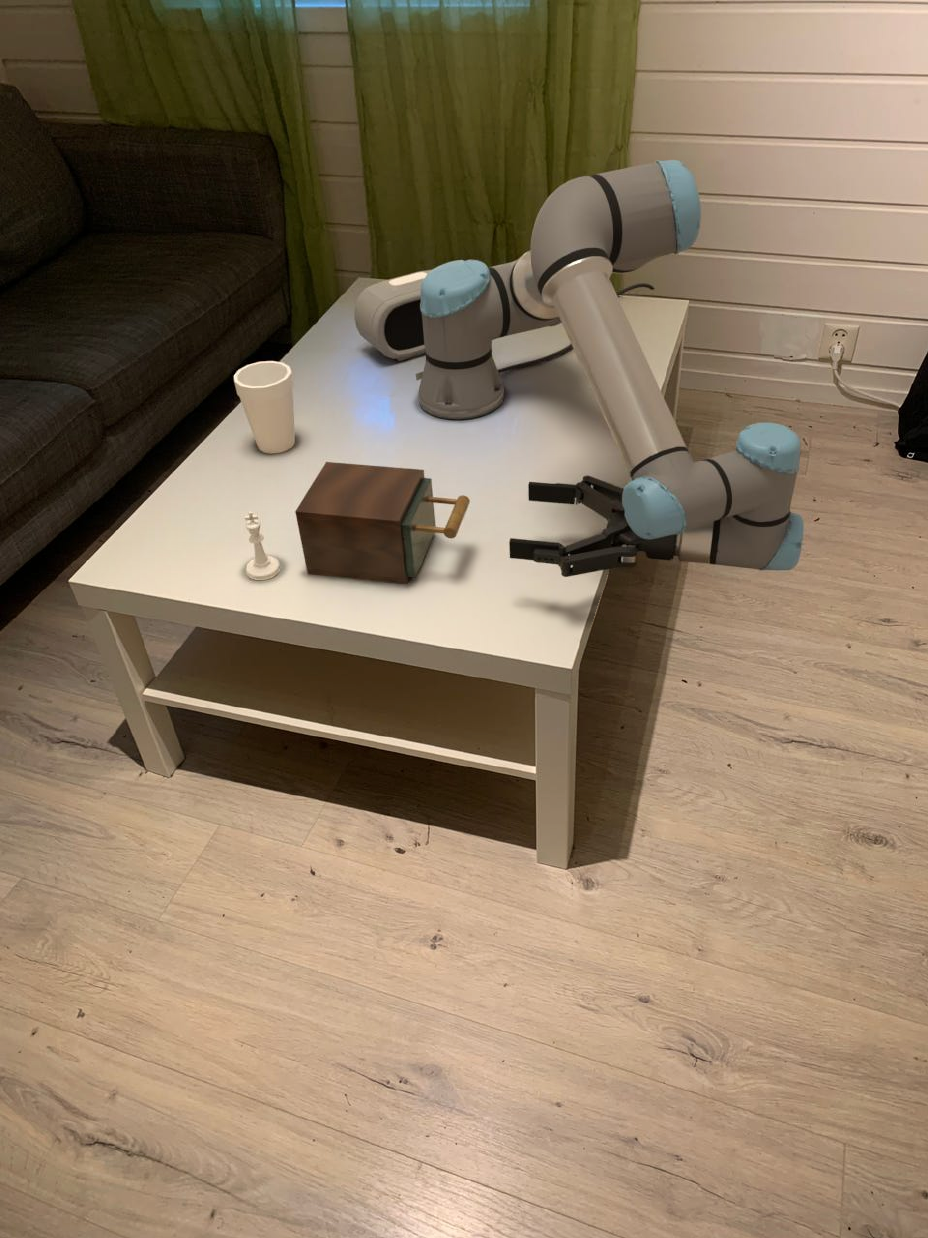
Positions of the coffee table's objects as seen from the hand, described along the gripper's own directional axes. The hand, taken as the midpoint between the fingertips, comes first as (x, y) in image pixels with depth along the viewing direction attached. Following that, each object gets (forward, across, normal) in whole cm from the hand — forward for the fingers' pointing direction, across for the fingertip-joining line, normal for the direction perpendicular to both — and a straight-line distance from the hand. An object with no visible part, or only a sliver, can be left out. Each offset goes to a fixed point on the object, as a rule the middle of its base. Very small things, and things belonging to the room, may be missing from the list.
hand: (519, 518), depth 137 cm
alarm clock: (+34, +66, -8) cm, 75 cm away
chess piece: (+36, -6, -9) cm, 38 cm away
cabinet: (+22, 0, -8) cm, 24 cm away
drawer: (+18, 0, -7) cm, 19 cm away
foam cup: (+48, +27, -8) cm, 56 cm away
